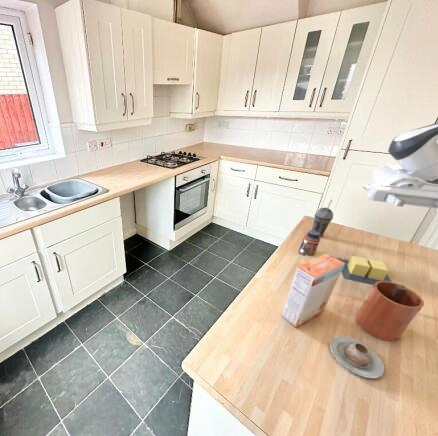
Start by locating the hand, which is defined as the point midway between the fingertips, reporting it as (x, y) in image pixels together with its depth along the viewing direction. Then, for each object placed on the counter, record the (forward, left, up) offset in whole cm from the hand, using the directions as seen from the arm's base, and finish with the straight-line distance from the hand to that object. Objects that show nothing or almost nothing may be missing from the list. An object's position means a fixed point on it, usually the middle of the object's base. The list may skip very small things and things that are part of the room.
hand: (423, 206), depth 66 cm
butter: (-3, -17, -37) cm, 41 cm away
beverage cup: (+10, -42, -37) cm, 57 cm away
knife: (0, +10, -36) cm, 38 cm away
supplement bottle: (+16, -24, -37) cm, 47 cm away
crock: (0, +10, -37) cm, 39 cm away
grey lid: (+9, +25, -37) cm, 46 cm away
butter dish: (-3, -17, -37) cm, 41 cm away
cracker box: (+21, +14, -37) cm, 45 cm away
